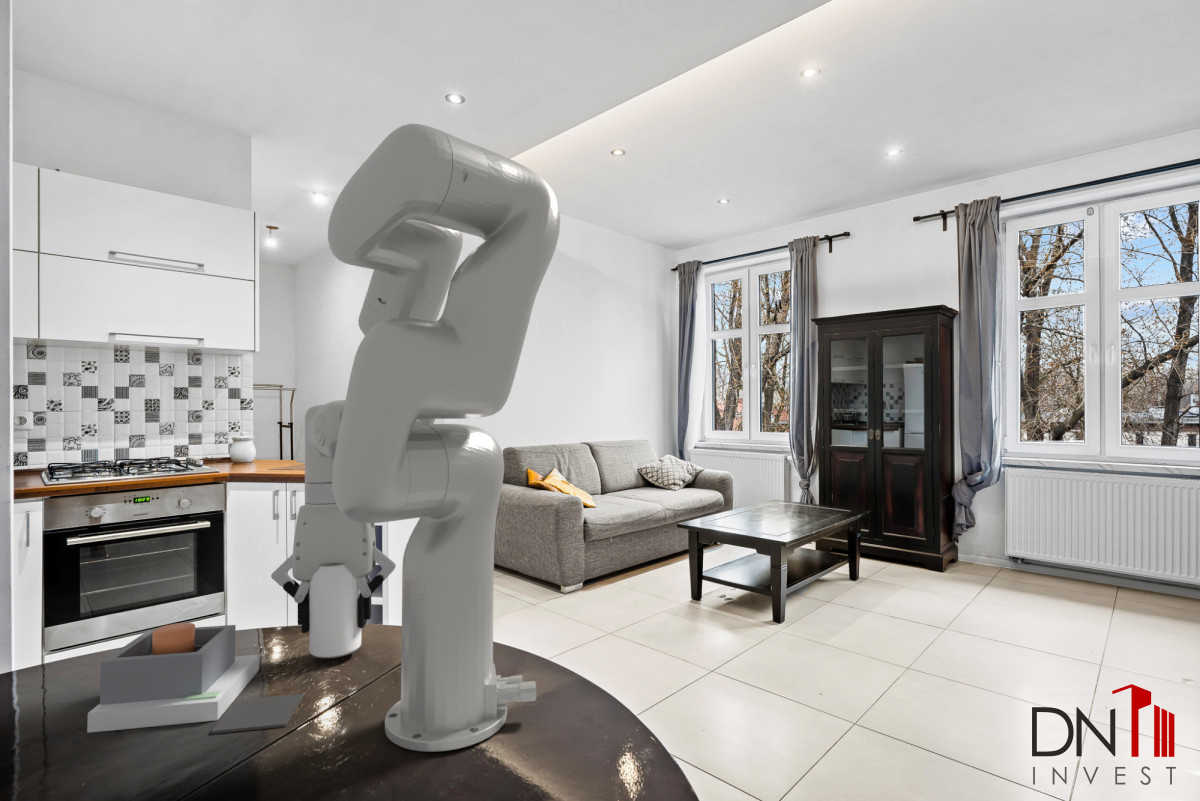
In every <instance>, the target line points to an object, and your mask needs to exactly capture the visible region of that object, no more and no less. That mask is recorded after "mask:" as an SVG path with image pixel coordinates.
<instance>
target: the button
mask: <svg viewBox="0 0 1200 801" xmlns="http://www.w3.org/2000/svg"><path fill="white" fill-rule="evenodd" d="M195 627H196V625H195V623H192V622H178V623H172V624H166V625H162V626H160V627H157V628H155V629H153V630H154V631H153V636H152V655H161V654H175V653H189V652H194V651H195Z"/></svg>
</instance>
